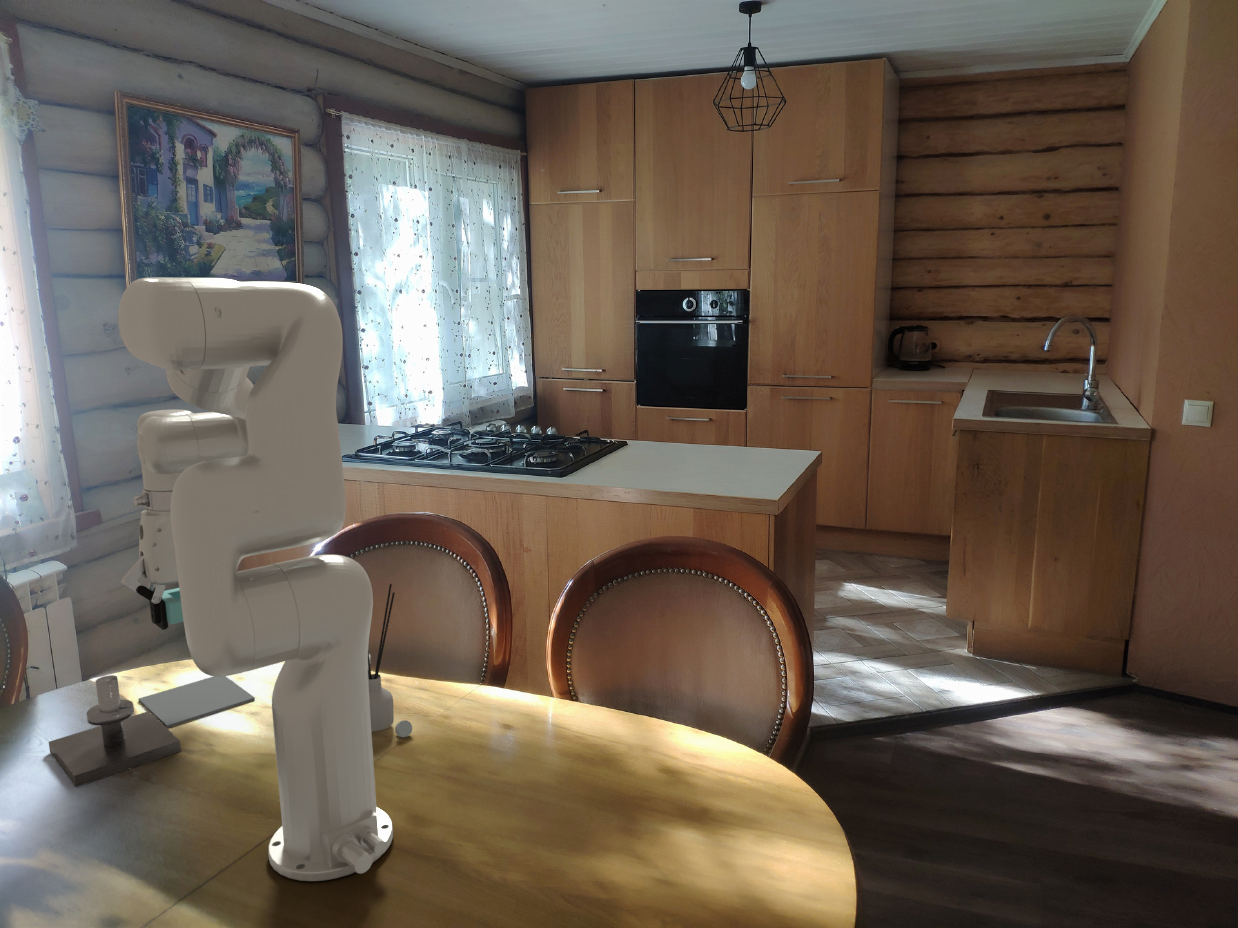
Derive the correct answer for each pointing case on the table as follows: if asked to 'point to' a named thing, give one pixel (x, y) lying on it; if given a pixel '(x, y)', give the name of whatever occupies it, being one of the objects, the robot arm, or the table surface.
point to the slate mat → (195, 700)
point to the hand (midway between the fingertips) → (187, 619)
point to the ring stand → (112, 739)
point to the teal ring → (173, 606)
